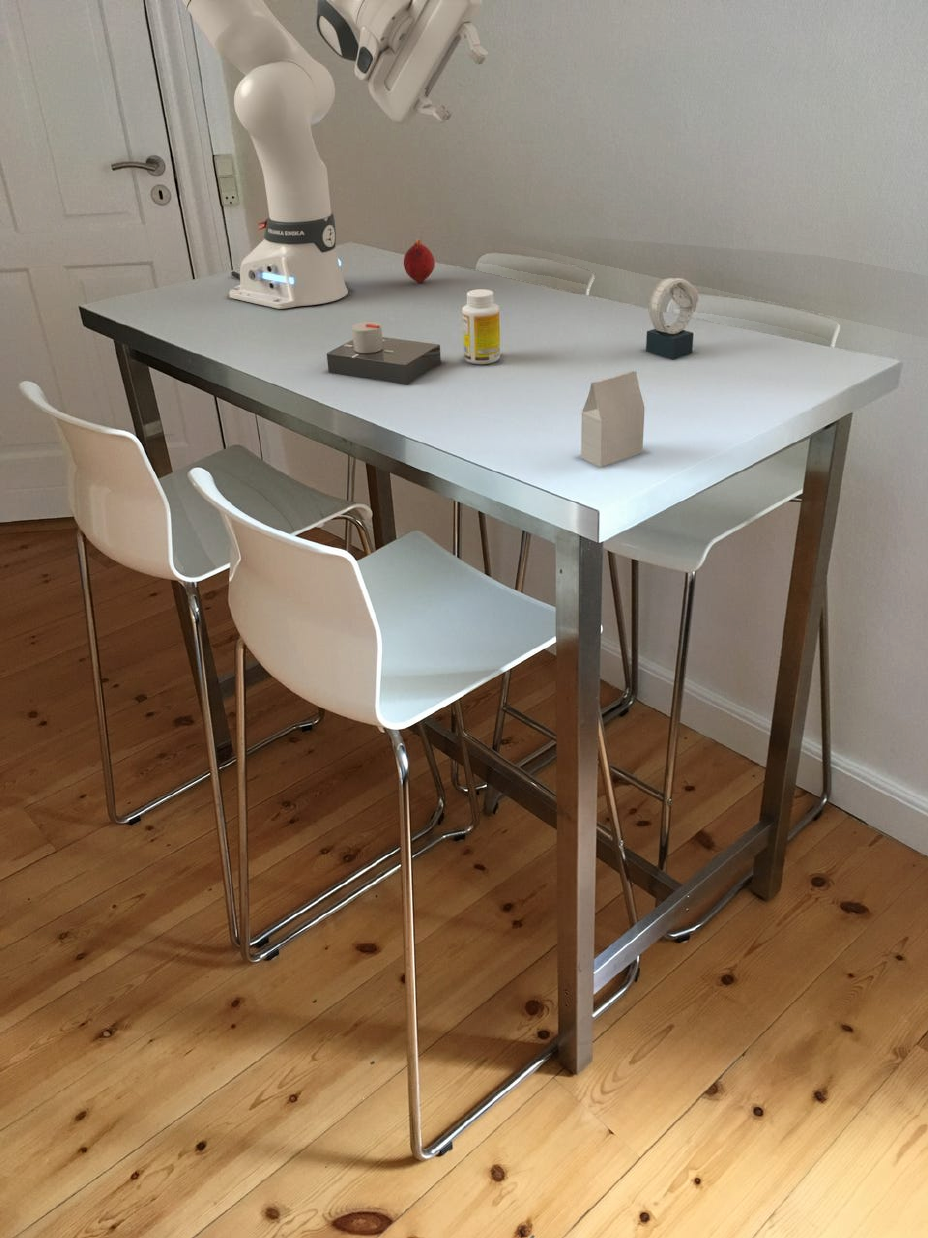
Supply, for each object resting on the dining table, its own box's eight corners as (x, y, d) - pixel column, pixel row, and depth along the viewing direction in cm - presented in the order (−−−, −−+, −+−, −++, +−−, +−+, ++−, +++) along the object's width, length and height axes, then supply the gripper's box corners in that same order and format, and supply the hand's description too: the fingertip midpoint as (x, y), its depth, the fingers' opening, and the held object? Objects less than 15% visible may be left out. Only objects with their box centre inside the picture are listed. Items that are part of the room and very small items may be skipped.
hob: (327, 372, 165) (325, 352, 163) (364, 352, 172) (362, 332, 170) (405, 385, 159) (404, 364, 157) (441, 363, 166) (440, 343, 164)
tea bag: (642, 452, 134) (646, 374, 129) (600, 467, 131) (602, 387, 126) (622, 443, 137) (625, 367, 132) (580, 457, 134) (582, 379, 129)
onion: (431, 287, 203) (429, 243, 199) (401, 286, 204) (398, 243, 200) (438, 279, 208) (436, 235, 204) (409, 278, 209) (406, 235, 205)
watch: (700, 349, 167) (706, 277, 161) (664, 362, 162) (668, 287, 157) (673, 341, 170) (677, 270, 165) (637, 353, 166) (640, 280, 160)
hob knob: (348, 351, 163) (345, 326, 161) (364, 342, 166) (362, 318, 164) (372, 354, 161) (370, 329, 159) (388, 346, 165) (386, 321, 163)
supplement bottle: (507, 357, 167) (506, 290, 162) (486, 367, 164) (484, 299, 158) (478, 351, 170) (476, 285, 165) (456, 361, 166) (453, 294, 161)
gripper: (445, -54, 144) (517, 19, 143) (374, 79, 158) (440, 147, 157) (419, -54, 139) (494, 22, 139) (349, 83, 153) (417, 153, 153)
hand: (465, 89), depth 148 cm, fingers open, 8 cm apart
